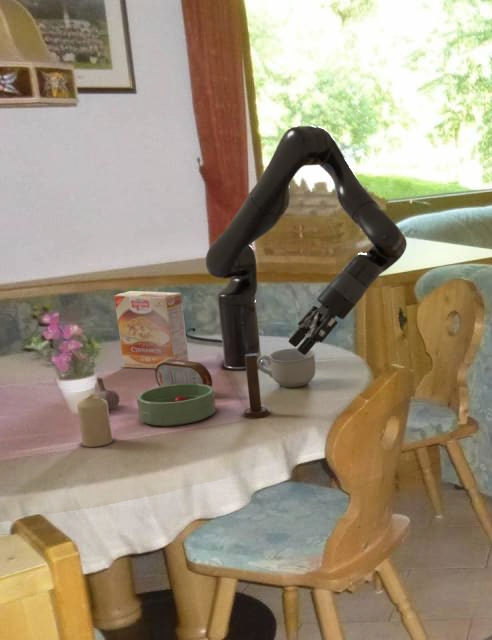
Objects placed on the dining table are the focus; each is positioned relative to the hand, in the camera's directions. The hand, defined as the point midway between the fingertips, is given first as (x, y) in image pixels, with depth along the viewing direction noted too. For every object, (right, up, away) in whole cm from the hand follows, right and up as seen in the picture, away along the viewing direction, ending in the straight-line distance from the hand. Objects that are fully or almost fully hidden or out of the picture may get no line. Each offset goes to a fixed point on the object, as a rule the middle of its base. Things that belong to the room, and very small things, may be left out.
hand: (296, 348), depth 232 cm
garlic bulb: (-45, -14, +2) cm, 47 cm away
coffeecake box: (-51, -4, +40) cm, 65 cm away
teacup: (-9, -9, +22) cm, 26 cm away
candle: (-34, -20, -20) cm, 45 cm away
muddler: (-8, -15, -2) cm, 17 cm away
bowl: (-25, -15, -3) cm, 30 cm away
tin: (-31, -11, +13) cm, 36 cm away
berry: (-27, -12, 0) cm, 29 cm away
